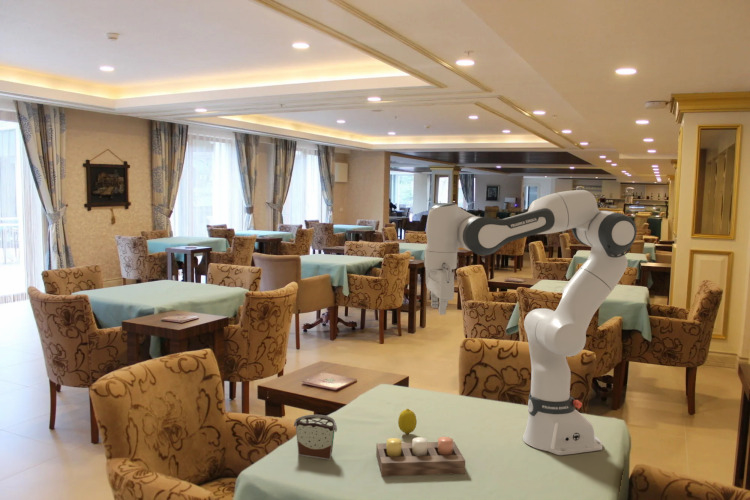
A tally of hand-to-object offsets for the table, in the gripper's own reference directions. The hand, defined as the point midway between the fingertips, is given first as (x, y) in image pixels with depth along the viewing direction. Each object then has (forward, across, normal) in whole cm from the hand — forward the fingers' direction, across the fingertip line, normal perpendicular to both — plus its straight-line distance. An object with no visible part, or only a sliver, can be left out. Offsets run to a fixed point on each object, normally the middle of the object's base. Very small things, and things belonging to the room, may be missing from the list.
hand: (438, 310), depth 165 cm
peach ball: (+37, -9, -2) cm, 38 cm away
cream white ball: (+37, -9, +5) cm, 39 cm away
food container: (+41, 0, +32) cm, 52 cm away
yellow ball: (+37, -9, +12) cm, 40 cm away
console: (+40, -9, +5) cm, 42 cm away
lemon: (+41, +11, +5) cm, 42 cm away
